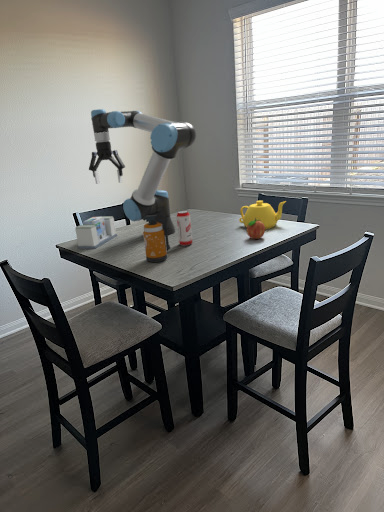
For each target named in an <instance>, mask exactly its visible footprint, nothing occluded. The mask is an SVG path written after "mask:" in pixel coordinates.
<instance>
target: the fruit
mask: <svg viewBox="0 0 384 512" xmlns="http://www.w3.org/2000/svg"><path fill="white" fill-rule="evenodd" d="M265 233H266V229H265V226H264V224H263V223H262V222H261V221H260V220H256V218H255V220H254V221H251V222H249V224H248V226H247V227H246V234H247V236H248V237H249V238H250V239H252V240H258V239H261V238H262V237H264V235H265Z"/></svg>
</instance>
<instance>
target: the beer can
mask: <svg viewBox="0 0 384 512" xmlns="http://www.w3.org/2000/svg"><path fill="white" fill-rule="evenodd" d="M176 221H177V222H176V223H177V224H176V225H177V231H178V233H177V234H178V243H179V245H180V246H182V247H187V246H191V245H192V243H193V234H192V225H191V214H190V212H189V210H179V211H177V214H176Z"/></svg>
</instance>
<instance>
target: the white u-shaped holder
mask: <svg viewBox="0 0 384 512" xmlns="http://www.w3.org/2000/svg"><path fill="white" fill-rule="evenodd" d="M103 217H104V221H105V227H106V234H107V236H106V237H104V238H103V239H101V240H99V241H98V236H97V230H96V226H95V225H84V224H81V225H78V226H75V228H74V229H75V234H76V235H75V236H76V239H77V241H76V242H77V249H84V250H85V249H87V250H88V249H93V250H94V249H97V248H100V247H101V246H103V245H105V243H107V242H109V241H111V240H112V239H114V238H116V237H117V236H118V234H117V232H116V225H115V218H114V216H113V215H112V216H103Z"/></svg>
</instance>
